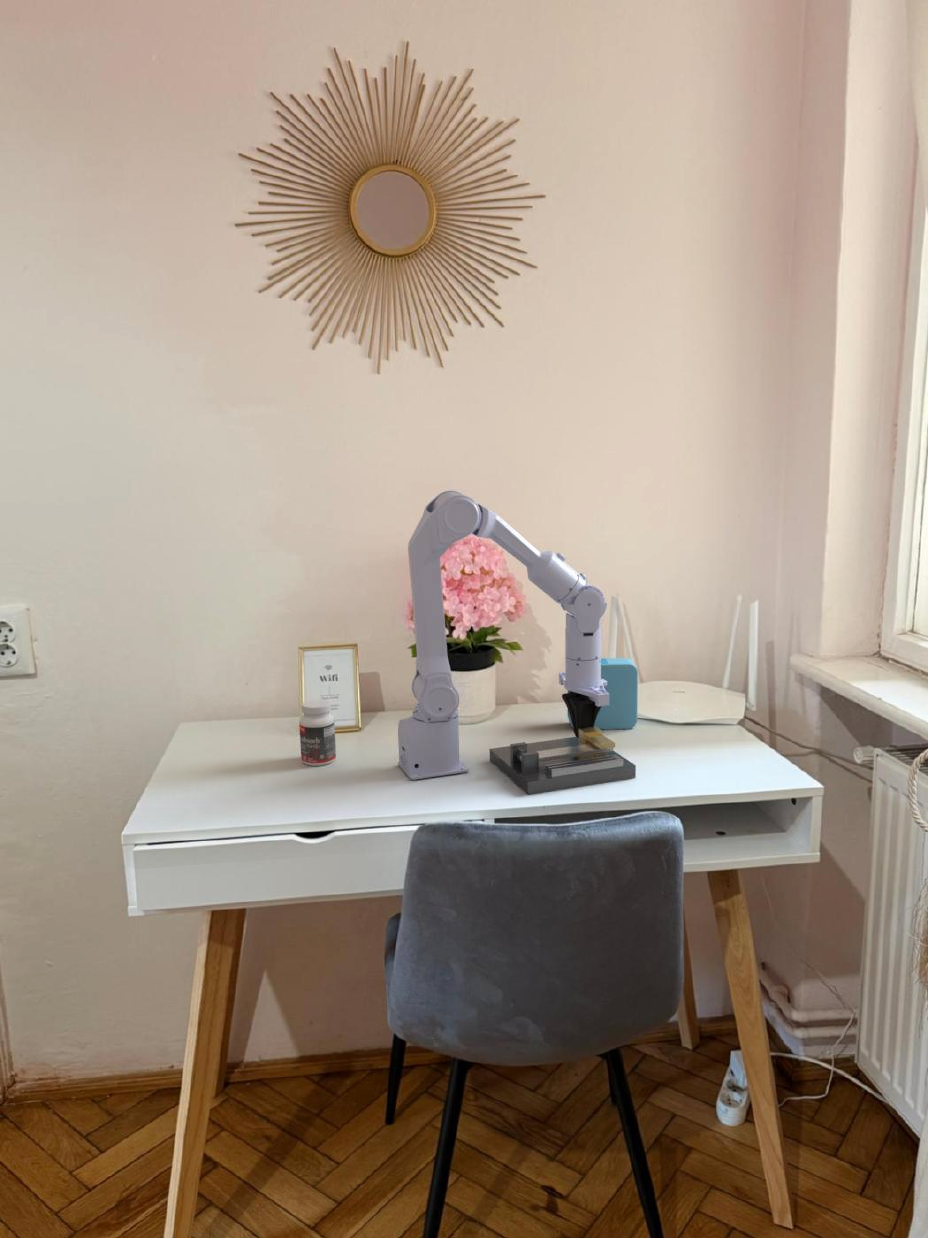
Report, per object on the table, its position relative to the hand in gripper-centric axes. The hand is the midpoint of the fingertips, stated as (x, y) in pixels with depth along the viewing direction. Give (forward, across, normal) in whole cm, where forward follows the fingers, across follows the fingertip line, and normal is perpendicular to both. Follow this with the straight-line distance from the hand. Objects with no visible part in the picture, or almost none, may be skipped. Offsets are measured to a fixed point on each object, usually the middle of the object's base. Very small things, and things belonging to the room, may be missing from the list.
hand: (583, 736), depth 164 cm
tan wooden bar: (+1, -6, +6) cm, 9 cm away
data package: (+3, +13, -10) cm, 17 cm away
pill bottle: (+3, +15, +41) cm, 44 cm away
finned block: (+3, -4, +6) cm, 8 cm away
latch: (+1, -5, 0) cm, 5 cm away
